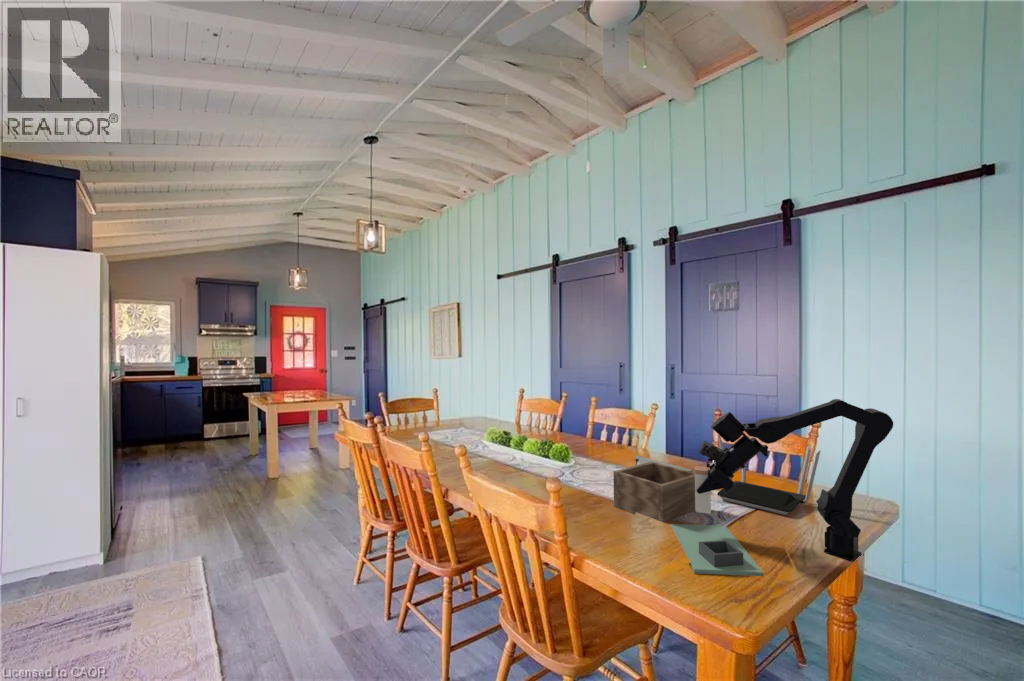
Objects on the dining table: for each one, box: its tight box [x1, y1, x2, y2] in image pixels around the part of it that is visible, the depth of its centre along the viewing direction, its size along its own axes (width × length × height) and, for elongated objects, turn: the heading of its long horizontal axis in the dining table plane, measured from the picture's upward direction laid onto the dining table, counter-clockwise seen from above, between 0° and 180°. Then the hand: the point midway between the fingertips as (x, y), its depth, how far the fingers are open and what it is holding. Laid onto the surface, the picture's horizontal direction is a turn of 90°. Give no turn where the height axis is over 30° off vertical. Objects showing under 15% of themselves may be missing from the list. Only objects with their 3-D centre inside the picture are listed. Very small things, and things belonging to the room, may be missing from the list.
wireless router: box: [717, 434, 822, 516], centre depth 166 cm, size 34×23×20 cm
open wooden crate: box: [612, 462, 696, 523], centre depth 160 cm, size 20×20×12 cm
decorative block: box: [634, 454, 694, 472], centre depth 189 cm, size 8×30×8 cm, turn 31°
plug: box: [694, 466, 712, 515], centre depth 137 cm, size 4×4×12 cm
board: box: [669, 523, 764, 577], centre depth 129 cm, size 28×16×1 cm, turn 173°
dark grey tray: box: [699, 540, 743, 567], centre depth 122 cm, size 8×8×3 cm
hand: (697, 489), depth 137 cm, fingers closed on plug, 4 cm apart
